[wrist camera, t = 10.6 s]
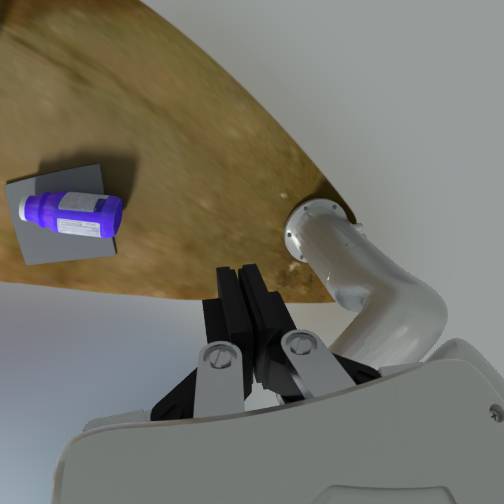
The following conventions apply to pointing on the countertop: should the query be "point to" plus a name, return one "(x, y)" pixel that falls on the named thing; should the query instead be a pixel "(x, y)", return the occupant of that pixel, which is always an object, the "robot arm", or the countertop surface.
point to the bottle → (74, 213)
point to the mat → (44, 239)
